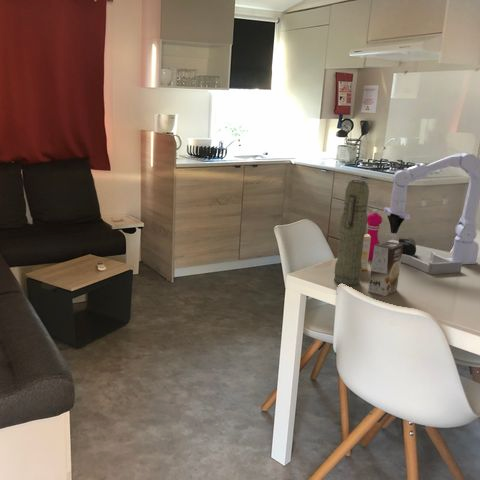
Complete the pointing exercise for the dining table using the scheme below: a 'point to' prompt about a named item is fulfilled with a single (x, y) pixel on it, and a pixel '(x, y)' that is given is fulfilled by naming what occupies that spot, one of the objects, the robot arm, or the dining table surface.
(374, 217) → the pepper mill
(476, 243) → the robot arm
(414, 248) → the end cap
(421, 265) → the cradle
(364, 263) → the cream bottle
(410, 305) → the dining table surface
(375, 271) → the coffee box
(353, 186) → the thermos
